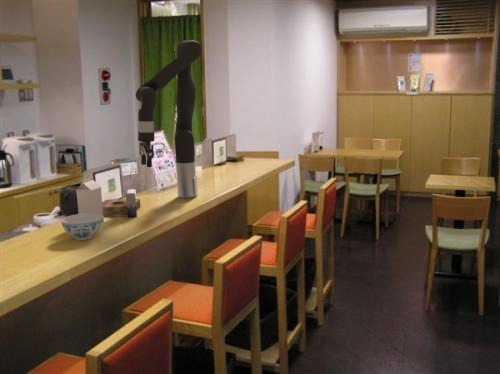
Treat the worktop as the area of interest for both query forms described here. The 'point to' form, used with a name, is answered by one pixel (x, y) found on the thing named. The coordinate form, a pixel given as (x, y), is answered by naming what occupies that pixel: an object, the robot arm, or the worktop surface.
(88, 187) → the milk carton
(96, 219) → the chinaware
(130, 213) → the grey upright bar
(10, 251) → the worktop surface
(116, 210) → the block
